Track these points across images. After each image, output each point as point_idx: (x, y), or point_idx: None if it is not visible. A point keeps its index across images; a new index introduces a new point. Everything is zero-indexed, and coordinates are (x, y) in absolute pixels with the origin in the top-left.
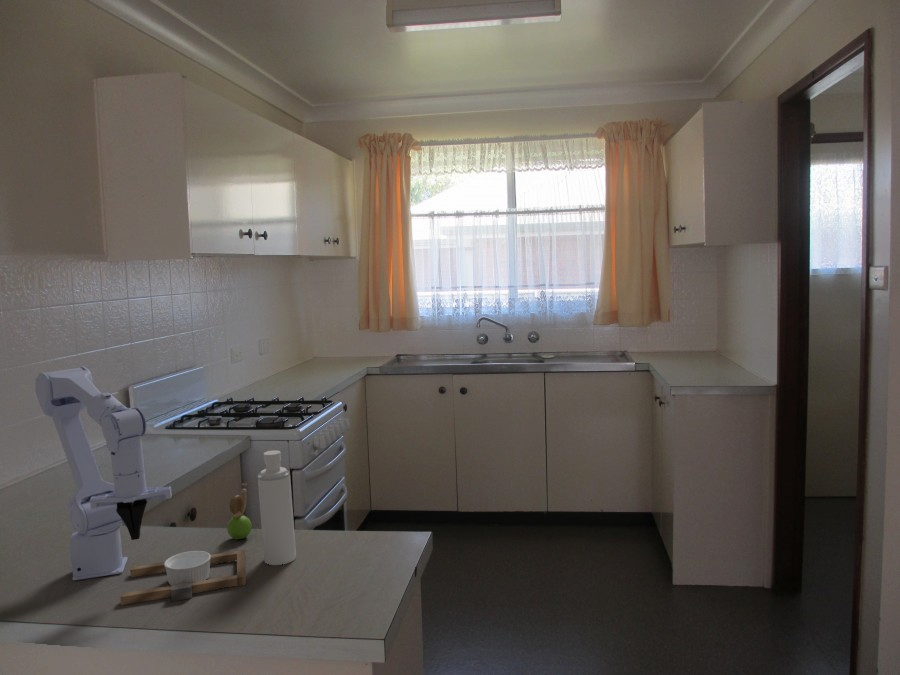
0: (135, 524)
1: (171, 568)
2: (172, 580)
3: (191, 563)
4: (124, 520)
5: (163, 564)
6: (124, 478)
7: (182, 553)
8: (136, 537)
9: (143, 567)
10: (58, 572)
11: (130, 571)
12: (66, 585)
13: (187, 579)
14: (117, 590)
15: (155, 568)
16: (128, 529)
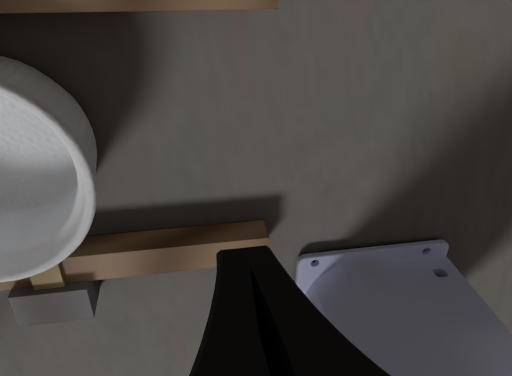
0: (245, 335)
1: (23, 98)
2: (47, 85)
3: (5, 232)
4: (367, 367)
5: (142, 254)
6: None
7: (31, 268)
8: (233, 255)
9: (220, 247)
10: None
11: (267, 234)
12: (462, 216)
13: None
14: (300, 125)
15: (173, 240)
16: (304, 297)
